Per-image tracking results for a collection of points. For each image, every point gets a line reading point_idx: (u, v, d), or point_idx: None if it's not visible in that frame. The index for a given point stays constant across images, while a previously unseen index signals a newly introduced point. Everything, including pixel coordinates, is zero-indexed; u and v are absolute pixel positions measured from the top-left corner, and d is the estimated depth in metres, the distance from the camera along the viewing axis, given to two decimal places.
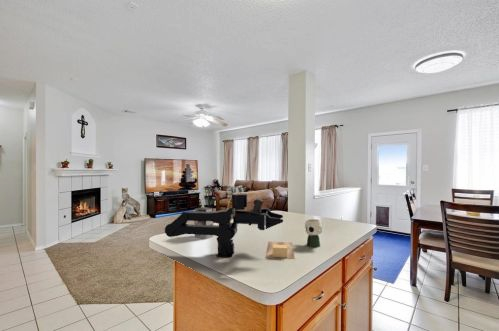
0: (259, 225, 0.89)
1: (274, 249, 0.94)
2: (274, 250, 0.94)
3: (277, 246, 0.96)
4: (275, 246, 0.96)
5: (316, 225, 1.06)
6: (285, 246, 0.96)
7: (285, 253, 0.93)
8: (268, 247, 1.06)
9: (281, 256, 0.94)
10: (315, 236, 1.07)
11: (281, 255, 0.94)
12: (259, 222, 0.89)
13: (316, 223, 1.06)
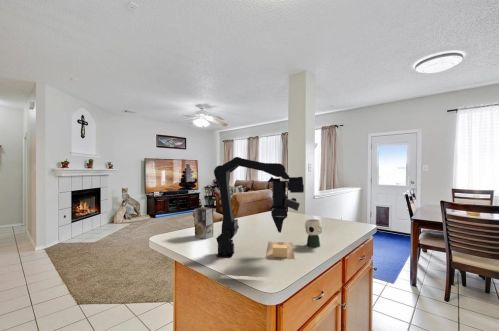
0: (276, 211, 0.87)
1: (274, 249, 0.94)
2: (274, 250, 0.94)
3: (277, 246, 0.96)
4: (275, 246, 0.96)
5: (316, 225, 1.06)
6: (285, 246, 0.96)
7: (285, 253, 0.93)
8: (268, 247, 1.06)
9: (281, 256, 0.94)
10: (315, 236, 1.07)
11: (281, 255, 0.94)
12: (279, 211, 0.87)
13: (316, 223, 1.06)
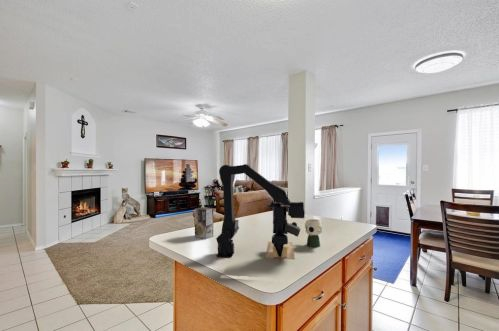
0: (276, 238, 0.87)
1: (274, 249, 0.94)
2: (274, 250, 0.94)
3: None
4: None
5: (316, 225, 1.06)
6: (285, 246, 0.96)
7: (285, 253, 0.93)
8: (268, 247, 1.06)
9: (281, 256, 0.94)
10: (315, 236, 1.07)
11: None
12: (280, 239, 0.87)
13: (316, 223, 1.06)
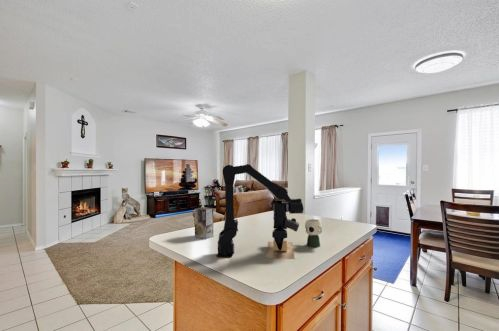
0: (276, 233, 0.94)
1: (275, 243, 1.01)
2: (275, 244, 1.01)
3: None
4: None
5: (316, 225, 1.06)
6: (285, 240, 1.02)
7: (285, 247, 1.00)
8: (268, 247, 1.06)
9: (281, 250, 1.01)
10: (315, 236, 1.07)
11: None
12: (279, 233, 0.94)
13: (316, 223, 1.06)
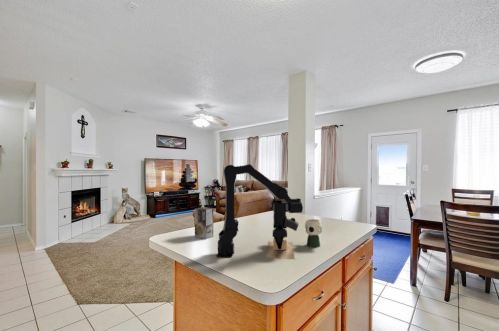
0: (277, 232, 0.96)
1: (274, 242, 1.03)
2: (274, 243, 1.03)
3: None
4: None
5: (316, 225, 1.06)
6: (284, 239, 1.04)
7: (284, 246, 1.02)
8: (268, 247, 1.06)
9: (281, 249, 1.02)
10: (315, 236, 1.07)
11: (281, 247, 1.02)
12: (280, 232, 0.95)
13: (316, 223, 1.06)
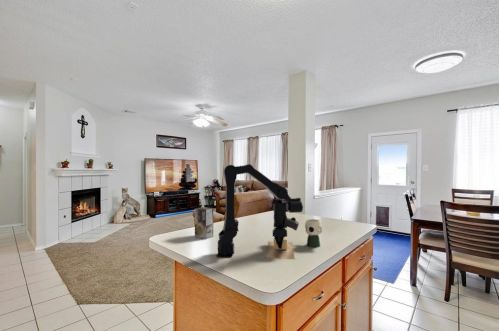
0: (277, 231, 0.96)
1: (275, 242, 1.03)
2: (275, 243, 1.03)
3: None
4: None
5: (316, 225, 1.06)
6: (285, 239, 1.04)
7: (285, 245, 1.02)
8: (268, 247, 1.06)
9: (281, 248, 1.03)
10: (315, 236, 1.07)
11: None
12: (280, 232, 0.96)
13: (316, 223, 1.06)
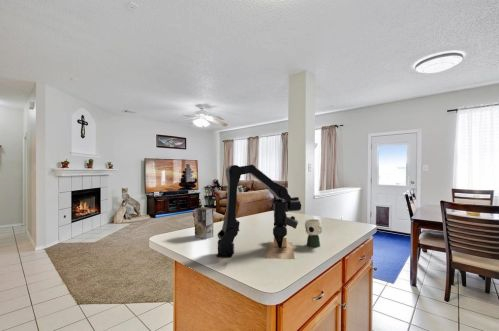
0: (277, 229, 1.00)
1: (275, 240, 1.07)
2: (275, 241, 1.07)
3: None
4: None
5: (316, 225, 1.06)
6: (284, 237, 1.08)
7: (284, 243, 1.06)
8: (268, 247, 1.06)
9: None
10: (315, 236, 1.07)
11: None
12: (280, 230, 1.00)
13: (316, 223, 1.06)
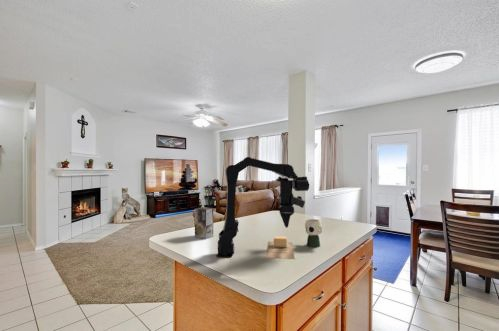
0: (284, 208, 0.96)
1: (275, 240, 1.07)
2: (275, 241, 1.07)
3: (277, 237, 1.08)
4: (276, 237, 1.08)
5: (316, 225, 1.06)
6: (284, 237, 1.08)
7: (284, 243, 1.06)
8: (268, 247, 1.06)
9: (281, 246, 1.06)
10: (315, 236, 1.07)
11: (281, 245, 1.06)
12: (287, 208, 0.96)
13: (316, 223, 1.06)
